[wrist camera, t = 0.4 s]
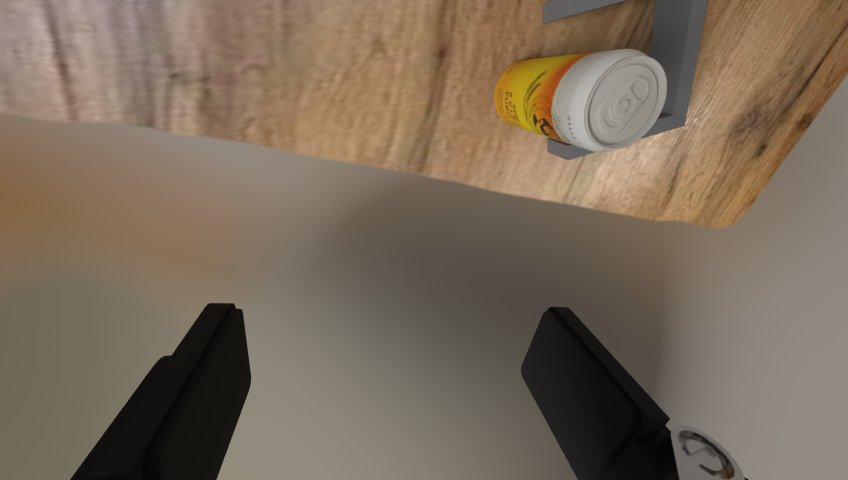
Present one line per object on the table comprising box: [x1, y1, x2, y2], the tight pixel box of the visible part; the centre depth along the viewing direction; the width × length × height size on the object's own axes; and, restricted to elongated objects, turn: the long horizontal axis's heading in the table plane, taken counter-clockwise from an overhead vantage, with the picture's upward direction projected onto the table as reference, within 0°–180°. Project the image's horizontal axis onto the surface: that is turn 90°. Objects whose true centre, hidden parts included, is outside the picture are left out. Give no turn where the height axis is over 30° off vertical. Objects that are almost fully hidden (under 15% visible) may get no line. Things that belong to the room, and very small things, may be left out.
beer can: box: [494, 49, 667, 152], centre depth 25 cm, size 6×6×15 cm
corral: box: [543, 0, 708, 160], centre depth 30 cm, size 13×14×4 cm
